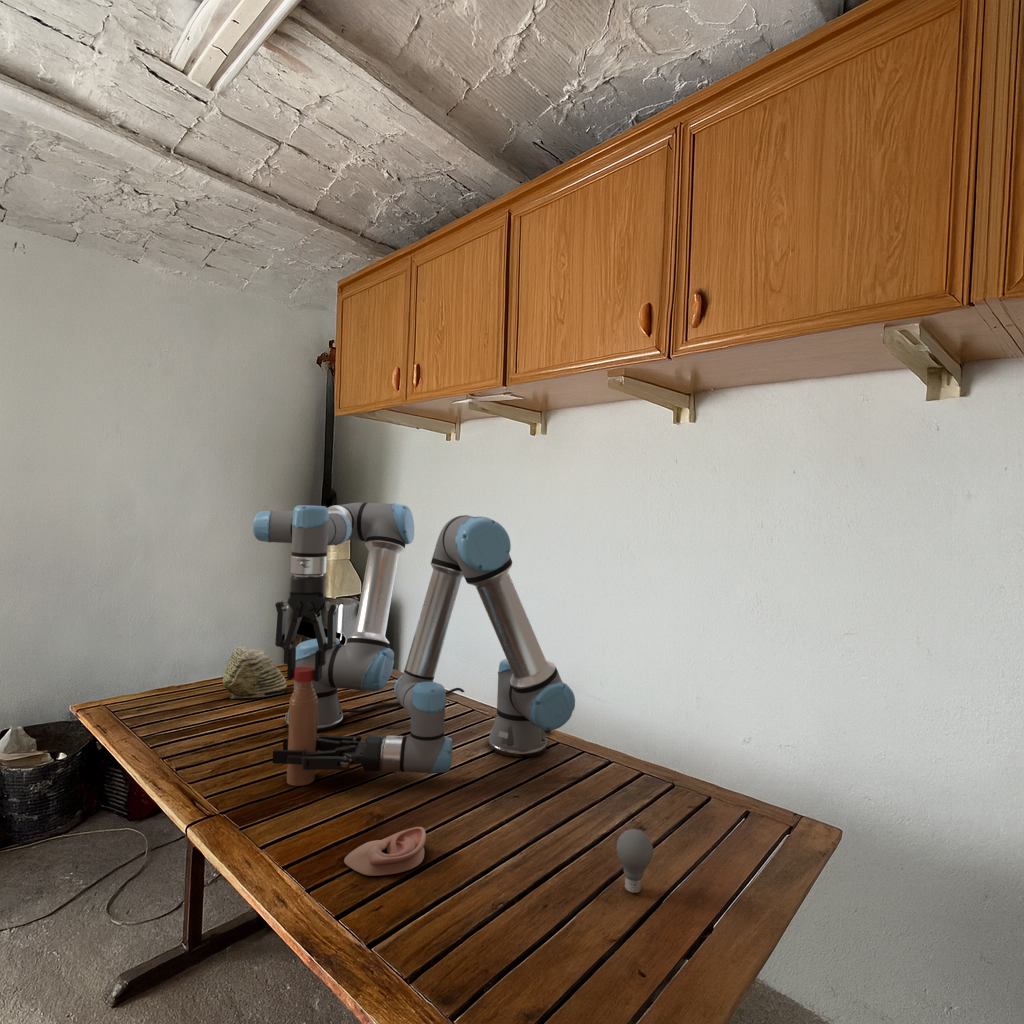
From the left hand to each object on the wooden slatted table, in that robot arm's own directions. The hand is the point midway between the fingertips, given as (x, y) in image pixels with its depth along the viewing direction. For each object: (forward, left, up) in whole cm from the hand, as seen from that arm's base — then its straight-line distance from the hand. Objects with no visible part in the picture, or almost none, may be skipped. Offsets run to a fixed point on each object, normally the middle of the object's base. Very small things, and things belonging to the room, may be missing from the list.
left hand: (304, 678), depth 141 cm
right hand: (+3, -4, -16) cm, 17 cm away
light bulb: (-14, +75, -23) cm, 79 cm away
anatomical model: (+7, +38, -23) cm, 45 cm away
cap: (0, 0, +2) cm, 2 cm away
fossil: (-23, -62, -23) cm, 70 cm away
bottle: (0, 0, -23) cm, 23 cm away
